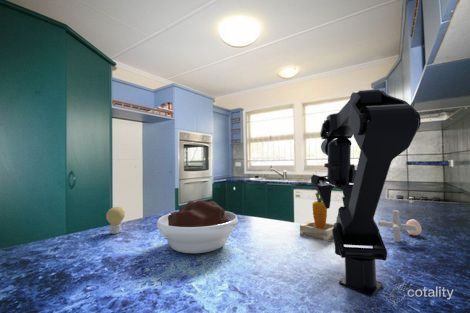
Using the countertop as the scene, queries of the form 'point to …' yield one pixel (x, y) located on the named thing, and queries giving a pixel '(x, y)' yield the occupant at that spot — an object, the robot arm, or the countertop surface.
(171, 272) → the countertop surface
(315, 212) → the carrot
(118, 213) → the light bulb
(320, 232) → the socket block
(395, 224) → the pipe connector
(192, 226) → the bowl of chocolate chunks
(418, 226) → the egg
